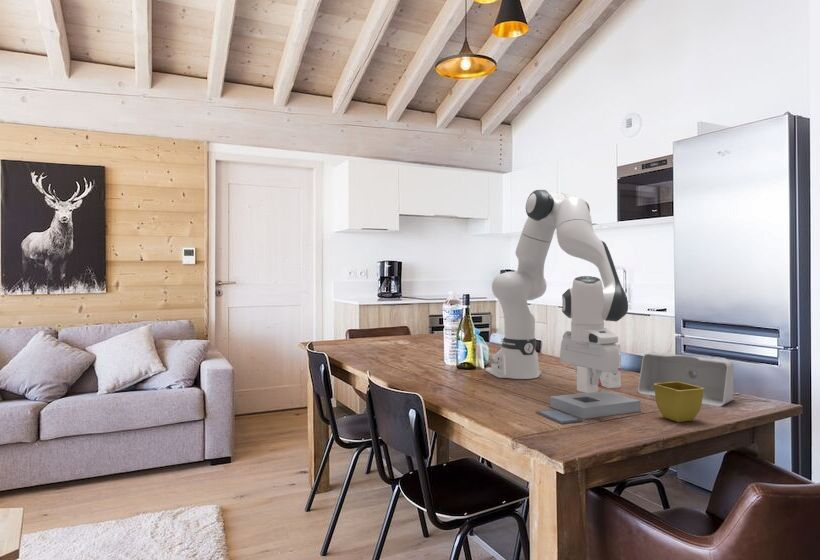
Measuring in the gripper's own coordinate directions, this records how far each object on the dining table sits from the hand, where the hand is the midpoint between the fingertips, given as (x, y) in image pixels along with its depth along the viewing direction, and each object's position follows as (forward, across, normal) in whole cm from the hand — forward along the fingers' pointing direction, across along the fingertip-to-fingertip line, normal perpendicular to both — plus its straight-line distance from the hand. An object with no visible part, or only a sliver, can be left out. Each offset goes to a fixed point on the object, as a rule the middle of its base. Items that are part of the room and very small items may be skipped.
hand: (587, 382), depth 152 cm
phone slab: (+8, +3, -12) cm, 15 cm away
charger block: (+2, 0, 0) cm, 2 cm away
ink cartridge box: (+8, -23, +29) cm, 38 cm away
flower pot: (+8, +17, +16) cm, 24 cm away
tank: (+8, -2, +41) cm, 42 cm away
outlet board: (+8, 0, +3) cm, 8 cm away
